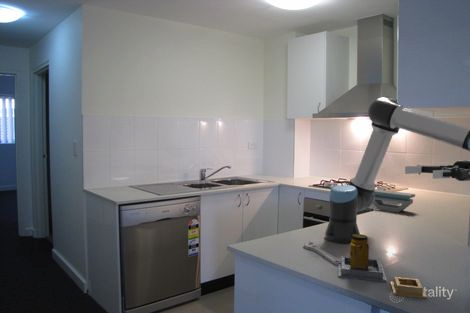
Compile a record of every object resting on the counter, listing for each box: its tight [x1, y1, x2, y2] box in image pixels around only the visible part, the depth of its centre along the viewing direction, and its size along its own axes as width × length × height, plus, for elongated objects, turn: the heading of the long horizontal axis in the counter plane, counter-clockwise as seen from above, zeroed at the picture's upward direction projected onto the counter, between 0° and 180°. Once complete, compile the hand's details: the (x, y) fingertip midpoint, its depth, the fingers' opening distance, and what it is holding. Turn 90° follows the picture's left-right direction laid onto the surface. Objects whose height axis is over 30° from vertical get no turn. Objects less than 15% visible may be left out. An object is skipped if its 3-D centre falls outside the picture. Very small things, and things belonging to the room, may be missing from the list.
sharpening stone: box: [372, 188, 416, 213], centre depth 227 cm, size 25×8×11 cm, turn 45°
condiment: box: [348, 233, 375, 271], centre depth 129 cm, size 7×8×12 cm
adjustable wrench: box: [303, 241, 341, 266], centre depth 148 cm, size 25×6×2 cm, turn 11°
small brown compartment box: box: [389, 276, 428, 300], centre depth 115 cm, size 9×9×3 cm
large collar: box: [337, 255, 388, 283], centre depth 130 cm, size 15×15×3 cm
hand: (418, 172), depth 133 cm, fingers open, 13 cm apart
